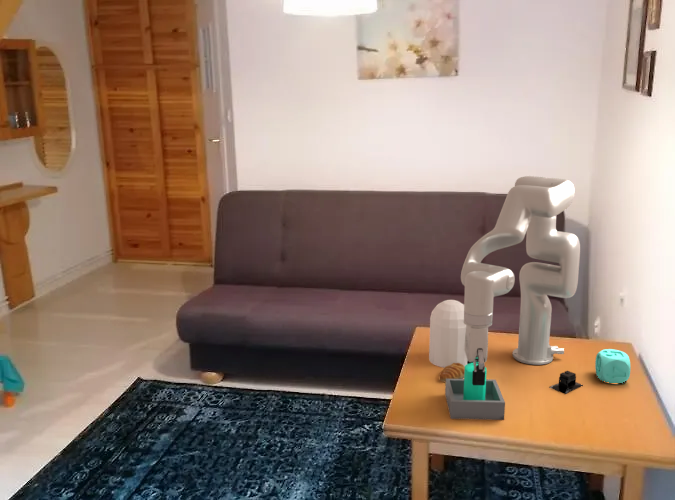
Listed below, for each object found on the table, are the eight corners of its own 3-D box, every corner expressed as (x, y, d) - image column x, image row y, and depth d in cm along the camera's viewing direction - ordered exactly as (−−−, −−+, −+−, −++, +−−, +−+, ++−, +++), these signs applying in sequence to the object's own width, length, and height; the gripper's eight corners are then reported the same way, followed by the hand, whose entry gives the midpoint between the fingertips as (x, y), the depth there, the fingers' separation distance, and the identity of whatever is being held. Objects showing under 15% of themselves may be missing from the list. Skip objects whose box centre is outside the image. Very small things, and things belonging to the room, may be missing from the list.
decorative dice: (629, 385, 196) (631, 360, 194) (600, 383, 197) (603, 358, 195) (621, 373, 203) (623, 349, 201) (594, 372, 204) (596, 348, 202)
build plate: (568, 378, 202) (570, 364, 201) (590, 386, 196) (591, 372, 195) (543, 389, 194) (544, 375, 193) (564, 398, 189) (566, 383, 188)
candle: (460, 398, 186) (462, 358, 183) (481, 397, 186) (483, 357, 183) (466, 408, 180) (468, 367, 177) (487, 407, 180) (490, 366, 177)
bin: (494, 395, 189) (495, 379, 188) (504, 419, 176) (505, 402, 175) (445, 394, 190) (445, 378, 189) (450, 418, 177) (451, 401, 175)
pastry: (452, 386, 196) (452, 375, 195) (432, 380, 200) (433, 368, 199) (469, 376, 202) (469, 365, 201) (450, 370, 207) (450, 359, 206)
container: (426, 366, 209) (428, 306, 205) (430, 350, 222) (432, 293, 217) (469, 370, 206) (472, 309, 201) (471, 353, 219) (474, 295, 214)
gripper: (459, 306, 185) (457, 363, 190) (468, 329, 169) (466, 391, 173) (487, 306, 185) (484, 363, 189) (498, 329, 168) (495, 391, 173)
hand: (475, 376), depth 181 cm, fingers open, 9 cm apart
